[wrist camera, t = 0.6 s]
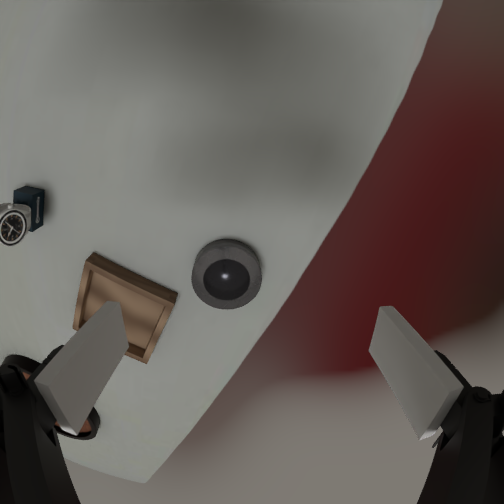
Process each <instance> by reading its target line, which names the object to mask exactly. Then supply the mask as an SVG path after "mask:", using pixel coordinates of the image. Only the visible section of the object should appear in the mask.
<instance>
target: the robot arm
mask: <svg viewBox="0 0 504 504" xmlns="http://www.w3.org/2000/svg"><path fill="white" fill-rule="evenodd" d="M128 348H129V344H128V340H127V336H126V331H125V327H124V322H123V317H122V312H121V307H120V302H113V301H107V302H106V303H105V304H104V305H103V306H102V307H101V308H100V309H99V310H98V311H97V312H96V313H95V314H94V315H93V316H92V317H91V318H90V319H89V320H88V321H87V322H86V323H85V324H84V325H83V326H82V327H81V328H80V329H79V330H78V331H77V332H76V334H75V335H74V336H73V337H72V338H71V339H70V340H69V341H68V342H67V343H66V344H65V345H61V346H59V347H57V348H56V349H54V350H53V351H52V352H51V353H50V354H49V355H48V356H47V358H45V360H44V361H43V362H42V363H41V364H40V365H39V366H38V367H37V368H36V370H35V371H34V372H33V373H32V374H31V375H30V376H29V378H28V379H27V380H26V378H25V376H24V374H23V372H22V370H21V368H20V367H19V366H18V365H17V364H14V363H8V364H5V365H3V366H1V367H0V504H81V503H80V501H79V499H78V496H77V494H76V491H75V489H74V486H73V484H72V481H71V478H70V475H69V473H68V470H67V467H66V464H65V461H64V457H63V454H62V451H61V447H60V443H59V440H58V436H57V432H56V430H55V428H54V425H55V423H56V421H57V422H58V424H59V425H60V427H61V428H62V430H64V431H66V432H69V433H71V434H74V435H76V436H77V435H78V433H79V431H80V430H81V428H82V426H83V424H84V422H85V420H86V419H87V417H88V415H89V413H90V411H91V410H92V408H93V406H94V404H95V403H96V401H97V399H98V397H99V396H100V394H101V392H102V391H103V389H104V387H105V385H106V384H107V382H108V380H109V379H110V377H111V375H112V374H113V372H114V370H115V369H116V367H117V365H118V364H119V362H120V361H121V359H122V357H123V356H124V354H125V352H126V351H127V349H128ZM369 352H370V354H371V355H372V357H373V359H374V360H375V362H376V364H377V365H378V367H379V369H380V370H381V372H382V373H383V376H384V377H385V379H386V381H387V382H388V384H389V386H390V388H391V389H392V391H393V393H394V395H395V397H396V398H397V400H398V402H399V404H400V405H401V407H402V409H403V411H404V413H405V414H406V416H407V418H408V420H409V422H410V424H411V426H412V427H413V429H414V431H415V433H416V435H417V437H418V439H419V440H421V439H424V438H427V437H429V436H432V435H434V434H435V432H436V430H437V429H438V428H439V426H441V428H442V429H443V432H442V433H441V435H440V436H439V437H438V439H437V440H436V442H435V443H434V444H433V446H432V448H434V447H435V446H436V444H437V443H438V445H437V449H436V452H435V456H434V459H433V462H432V465H431V468H430V471H429V474H428V477H427V479H426V482H425V485H424V488H423V490H422V492H421V495H420V497H419V500H418V502H417V504H504V436H503V435H502V431H503V430H504V390H503V391H502V393H501V394H493V395H492V394H491V393H490V392H489V391H488V390H487V389H485V388H483V387H472V386H471V385H470V384H469V383H468V382H467V381H466V379H465V378H464V377H463V376H462V375H461V373H460V372H459V371H458V370H457V369H455V366H454V365H453V364H451V362H450V361H449V360H448V359H447V357H446V356H445V355H443V354H442V353H440V352H438V351H437V350H436V351H433V350H432V349H431V347H430V346H429V345H428V344H427V343H426V342H425V341H424V340H423V339H422V337H421V336H420V335H419V334H418V333H417V332H416V331H415V330H414V329H413V327H412V326H411V325H410V324H409V323H408V322H407V321H406V320H405V319H404V318H403V317H402V316H401V315H400V314H399V313H398V311H397V310H396V309H395V308H394V307H393V306H385V307H380V309H379V313H378V318H377V321H376V326H375V329H374V333H373V337H372V341H371V345H370V348H369Z"/></svg>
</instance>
